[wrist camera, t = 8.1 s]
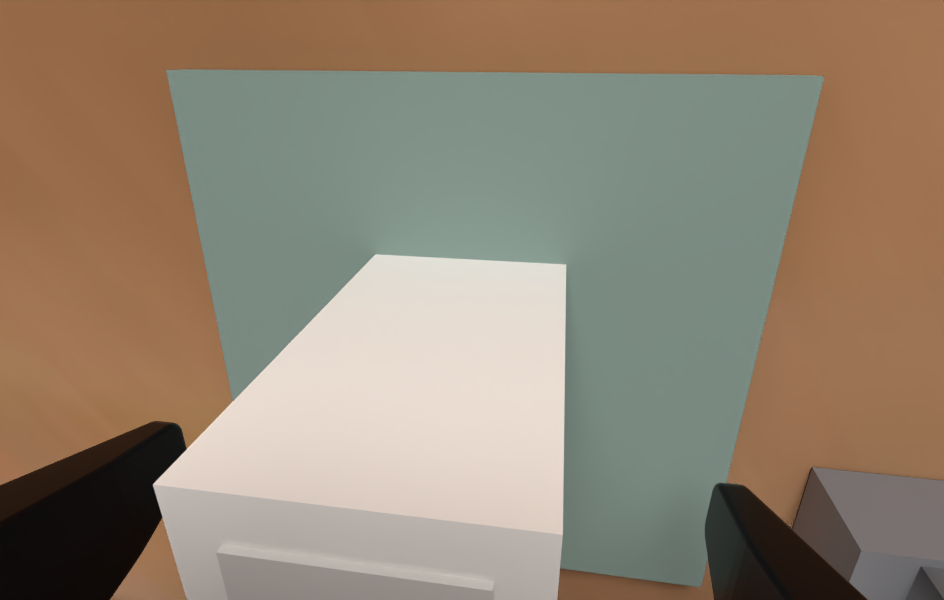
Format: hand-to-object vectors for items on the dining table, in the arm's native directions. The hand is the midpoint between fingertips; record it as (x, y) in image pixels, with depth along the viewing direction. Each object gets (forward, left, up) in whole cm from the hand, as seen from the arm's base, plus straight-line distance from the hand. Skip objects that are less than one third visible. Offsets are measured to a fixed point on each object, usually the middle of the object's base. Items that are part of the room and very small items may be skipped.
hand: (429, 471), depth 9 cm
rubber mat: (0, 0, -4) cm, 4 cm away
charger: (0, 0, -4) cm, 4 cm away
